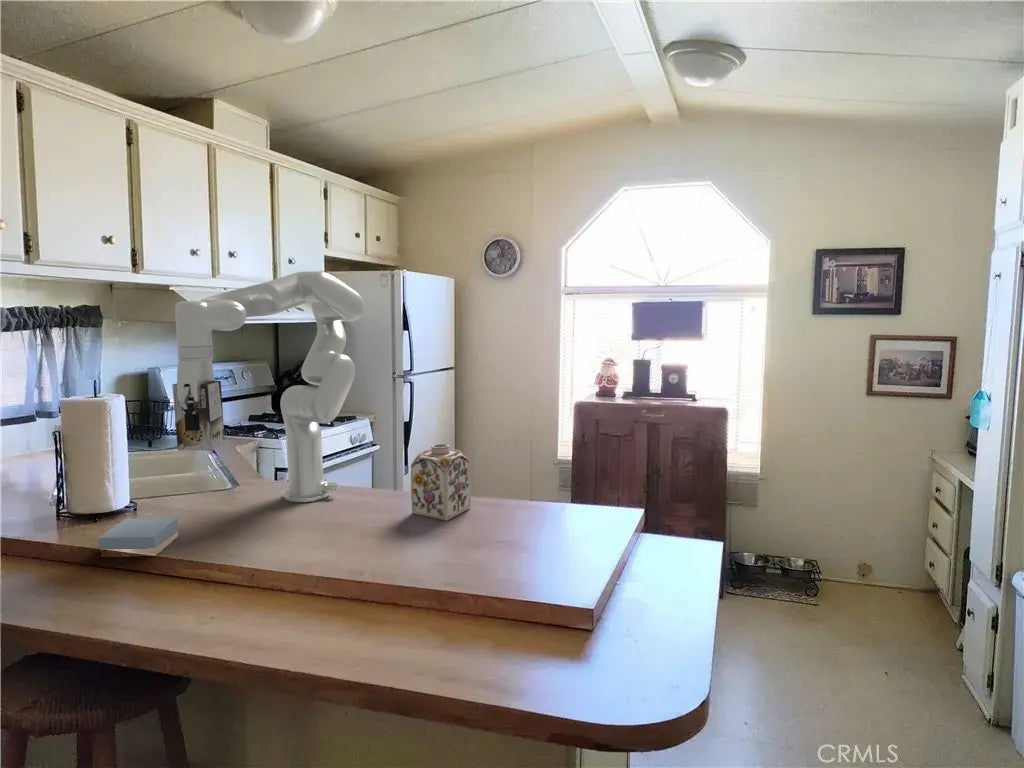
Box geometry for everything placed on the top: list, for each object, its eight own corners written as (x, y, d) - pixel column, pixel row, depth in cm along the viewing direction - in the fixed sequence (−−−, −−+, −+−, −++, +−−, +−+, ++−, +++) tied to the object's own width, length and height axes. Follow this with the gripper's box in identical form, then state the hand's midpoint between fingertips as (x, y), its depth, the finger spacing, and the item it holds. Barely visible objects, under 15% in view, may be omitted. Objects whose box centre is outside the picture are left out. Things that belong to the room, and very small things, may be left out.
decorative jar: (446, 522, 174) (445, 453, 172) (410, 514, 180) (408, 447, 177) (472, 508, 185) (471, 443, 182) (437, 501, 190) (435, 438, 188)
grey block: (178, 537, 165) (177, 517, 165) (156, 558, 154) (154, 536, 153) (127, 538, 165) (125, 518, 164) (100, 559, 153) (98, 538, 152)
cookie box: (226, 445, 169) (222, 380, 167) (212, 451, 163) (208, 384, 161) (190, 444, 170) (186, 379, 168) (175, 450, 164) (171, 383, 161)
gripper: (197, 349, 172) (201, 420, 174) (160, 357, 155) (165, 434, 157) (226, 350, 172) (230, 420, 174) (193, 357, 154) (198, 435, 157)
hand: (200, 426), depth 166 cm, fingers closed on cookie box, 6 cm apart
